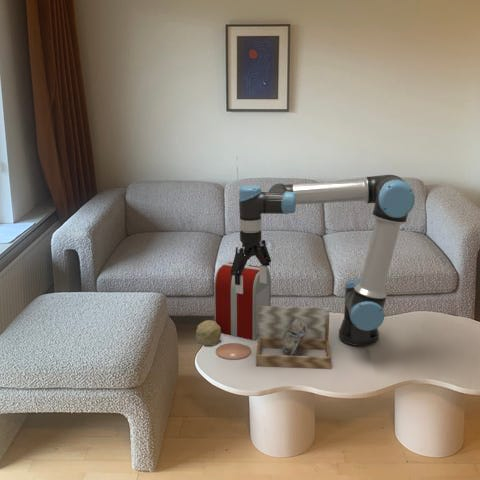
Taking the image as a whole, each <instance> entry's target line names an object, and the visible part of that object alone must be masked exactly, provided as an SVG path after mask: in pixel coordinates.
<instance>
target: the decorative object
mask: <svg viewBox="0 0 480 480" xmlns="http://www.w3.org/2000/svg"><path fill="white" fill-rule="evenodd" d="M221 335H222V333H221V328H220V326H219V325H218V324H217V323H216V322H215V321H214V320H210V319H209V320H204V321H202V322H200V323H199V324H198V325H197V328H196V331H195V341H196V342H197V344H199V345H202V346H215V345H216V344H218V343H219V342H220V340H221Z"/></svg>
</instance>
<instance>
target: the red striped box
mask: <svg viewBox="0 0 480 480" xmlns="http://www.w3.org/2000/svg"><path fill="white" fill-rule="evenodd" d="M232 265H233V262H229V261H228V262H225V263H223V264H222V265H221V266H220V267H218V268H217V270H216V272H215V275H214V281H213V300H214V301H213V302H214V303H213V306H214V307H213V308H214V309H213V313H214V317H213V319H214V320H213V321H215V322H216V323H217V324H218V325H219V326H220V328H221V335H226V336H231V337H234V338H235V337H236V338H241V339H244V340H250V341H256V340H258V337H259V306H271V307H272V305H271V304H272V303H271V297H272V296H271V295H272V292H271V291H272V289H271V288H272V284H271V283H272V279H271V278H272V277H271V272H270V269H269V268H268V267H267V283H266V284H265V283H261V282H260V265H259V266H258V265H252V264H249V263H248V264H247V263H246V265H245V267H244V270H243V272H242V274H241V276H243V294H240V293H236V285H235V276H234V275H230V272H231V268H232ZM238 273H239V271H238Z"/></svg>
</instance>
